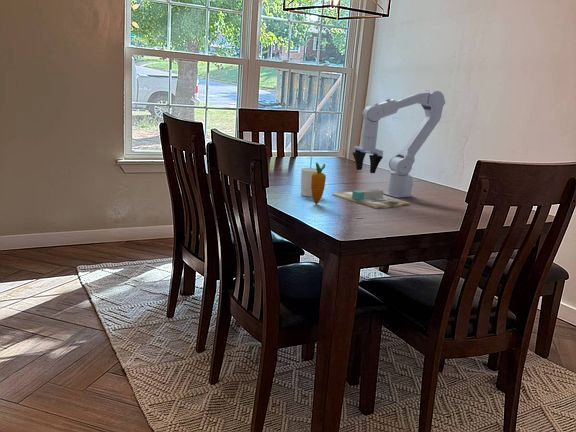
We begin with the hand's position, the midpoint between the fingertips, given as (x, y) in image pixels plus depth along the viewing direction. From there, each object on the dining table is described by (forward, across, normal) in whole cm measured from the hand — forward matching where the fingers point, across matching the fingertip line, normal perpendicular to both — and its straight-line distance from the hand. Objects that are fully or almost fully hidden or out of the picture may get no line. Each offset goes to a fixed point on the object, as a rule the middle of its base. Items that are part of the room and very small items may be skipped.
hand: (365, 171), depth 211 cm
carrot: (+10, +8, -31) cm, 33 cm away
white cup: (+10, -6, -23) cm, 26 cm away
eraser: (+8, +9, -5) cm, 13 cm away
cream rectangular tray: (+9, +9, -5) cm, 14 cm away
